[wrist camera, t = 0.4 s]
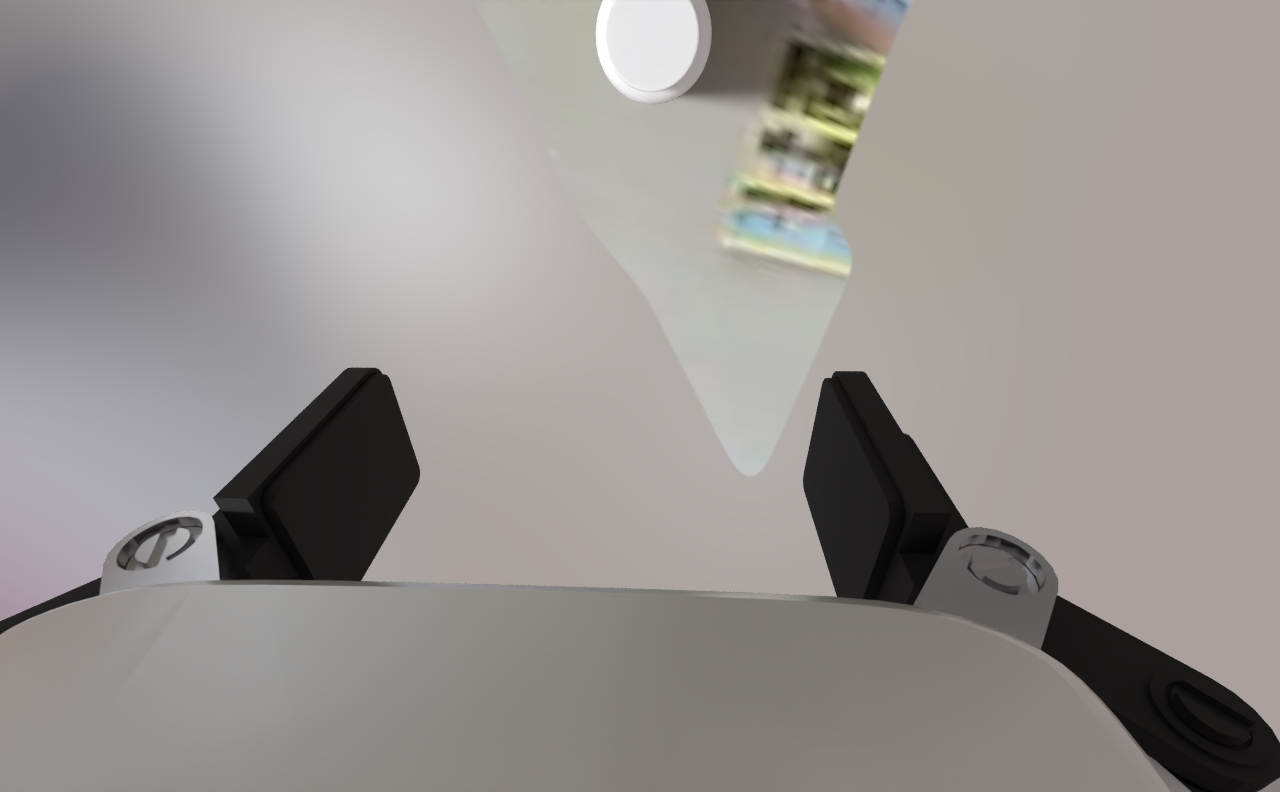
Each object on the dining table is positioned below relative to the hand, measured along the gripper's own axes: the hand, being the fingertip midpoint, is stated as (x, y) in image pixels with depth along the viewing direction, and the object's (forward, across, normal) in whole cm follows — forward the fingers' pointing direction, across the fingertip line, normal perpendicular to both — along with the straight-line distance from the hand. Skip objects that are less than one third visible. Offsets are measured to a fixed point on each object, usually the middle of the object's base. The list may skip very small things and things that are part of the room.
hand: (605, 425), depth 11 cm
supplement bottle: (+27, -1, -8) cm, 28 cm away
